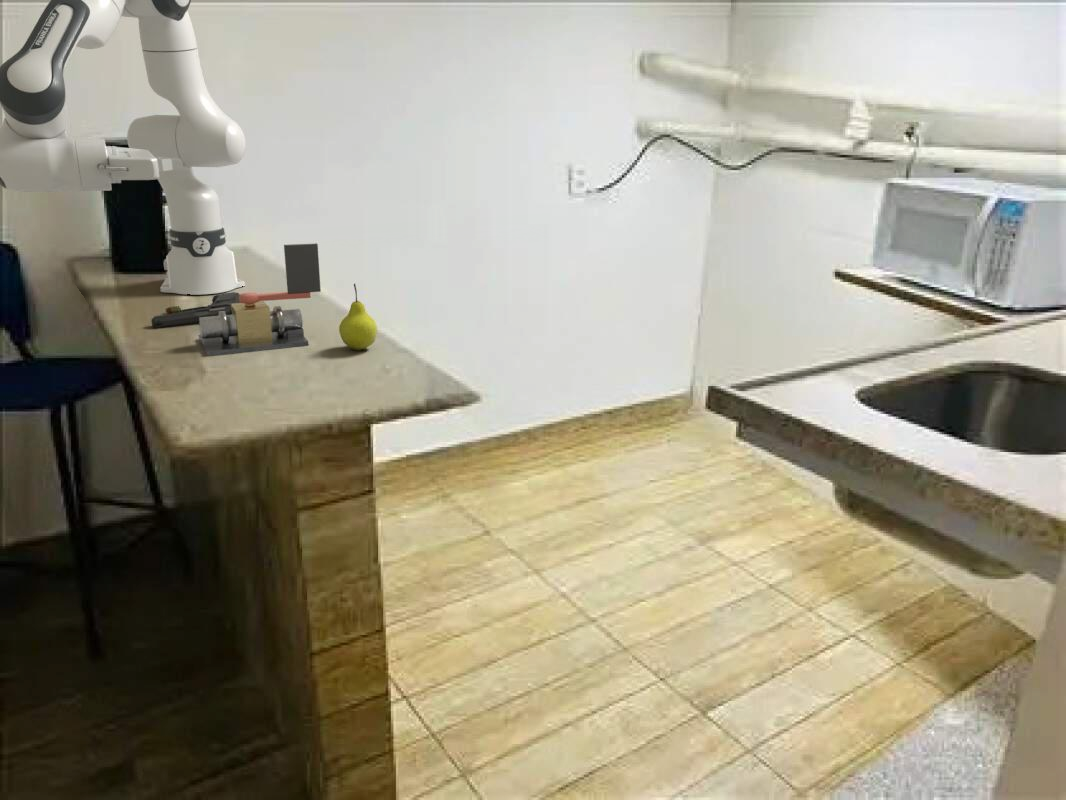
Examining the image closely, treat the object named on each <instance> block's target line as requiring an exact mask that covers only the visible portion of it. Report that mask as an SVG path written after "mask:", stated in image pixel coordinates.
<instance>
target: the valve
mask: <svg viewBox="0 0 1066 800" xmlns="http://www.w3.org/2000/svg"><path fill="white" fill-rule="evenodd" d="M231 311H232V315H226V312H225V311H219V312H218V316H211V317H200V318H199V323H198V324H199V330H200V332H199V334H198V339H199V341H200V343H201V346H202V348H203V351H204V352H205V355H206V354H207V355H206V357H210V356H211V357H212V355H213V356H219V355H220V356H221V355H229V354H230V355H232V354H239V353H240V354H241V353H249V352H250V353H251V352H259V351H267V350H268V351H269V350H276V349H277V350H278V349H285V348H286V349H287V348H294V347H296V348H297V347H304V346H305V347H306V346H309V339H307V338H306V337H305V335H304V328H303V316H302V312H301V309H300V308H291V309H282V307H281V306H280V305H277V306H273V309H272V310H270V307H269V306H268V305H267V303H266V302H265V301H259V302H257V303H248V304H246V303H235V304H231Z"/></svg>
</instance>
